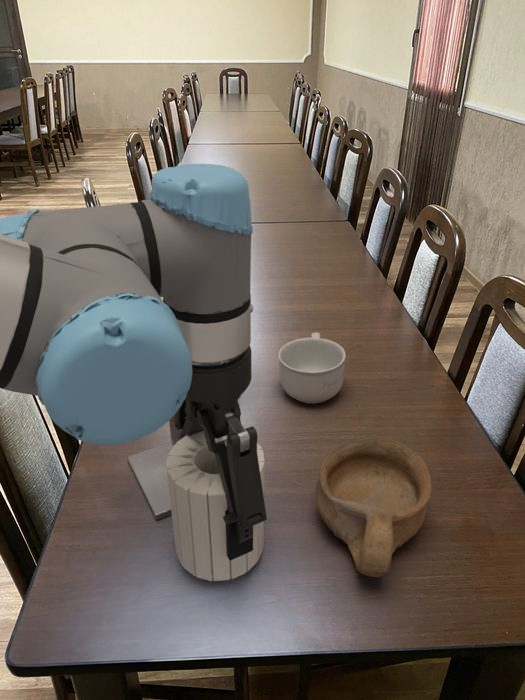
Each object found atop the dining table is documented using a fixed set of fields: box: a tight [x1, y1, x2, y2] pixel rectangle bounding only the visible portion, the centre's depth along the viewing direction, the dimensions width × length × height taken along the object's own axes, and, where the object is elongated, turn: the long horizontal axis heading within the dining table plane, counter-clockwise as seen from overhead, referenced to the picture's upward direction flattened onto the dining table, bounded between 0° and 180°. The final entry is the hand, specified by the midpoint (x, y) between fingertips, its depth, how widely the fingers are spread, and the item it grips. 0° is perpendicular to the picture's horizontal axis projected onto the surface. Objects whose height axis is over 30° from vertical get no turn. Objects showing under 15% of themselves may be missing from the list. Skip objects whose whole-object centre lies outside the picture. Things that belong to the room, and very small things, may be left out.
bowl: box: [315, 436, 433, 578], centre depth 63 cm, size 18×14×10 cm
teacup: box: [277, 332, 347, 405], centre depth 90 cm, size 14×11×8 cm
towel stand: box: [126, 415, 182, 522], centre depth 70 cm, size 12×12×14 cm
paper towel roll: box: [167, 431, 266, 582], centre depth 59 cm, size 10×10×13 cm
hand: (218, 517), depth 60 cm, fingers closed on paper towel roll, 10 cm apart
